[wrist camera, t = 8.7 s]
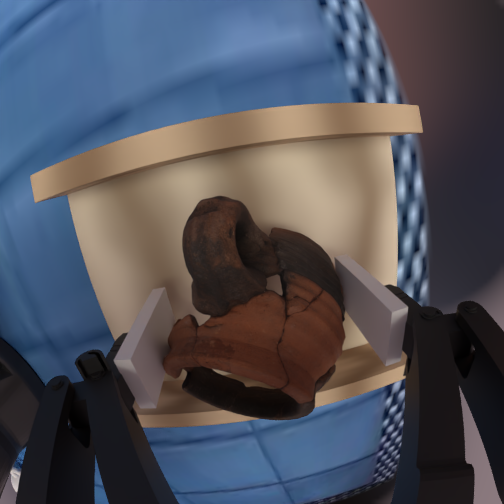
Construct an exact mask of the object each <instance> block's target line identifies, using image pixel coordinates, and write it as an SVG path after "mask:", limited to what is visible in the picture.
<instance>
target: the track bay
mask: <svg viewBox="0 0 504 504" xmlns="http://www.w3.org/2000/svg"><path fill="white" fill-rule="evenodd" d="M414 133H423V130H422V124H421V118H420V112H419V107H418V106H416V105H404V104H386V103H326V104H307V105H294V106H283V107H273V108H265V109H257V110H249V111H242V112H236V113H230V114H224V115H218V116H213V117H208V118H203V119H198V120H193V121H189V122H184V123H180V124H176V125H171V126H167V127H163V128H160V129H156V130H152V131H149V132H145V133H141V134H138V135H135V136H131V137H128V138H125V139H122V140H119V141H116V142H112V143H110V144H107V145H104V146H101V147H98V148H95V149H92V150H90V151H87V152H84V153H82V154H79V155H77V156H74V157H72V158H69V159H67V160H64V161H62V162H60V163H57V164H55V165H53V166H50V167H48V168H46V169H44V170H42V171H39V172H37V173H35V174H33V175H31V176H30V177H31V184H32V189H33V195H34V200H35V203H37V202H40V201H44V200H48V199H52V198H56V197H60V196H64V195H68V200H69V205H70V209H71V214H72V218H73V222H74V226H75V230H76V234H77V237H78V241H79V244H80V248H81V251H82V255H83V258H84V261H85V264H86V267H87V271H88V274H89V277H90V279H91V282H92V285H93V288H94V291H95V294H96V296H97V299H98V302H99V304H100V307H101V309H102V312H103V314H104V317H105V319H106V322H107V324H108V326H109V329H110V331H111V333H112V336H113V338H114V340H115V341H116V339H117V338H118V337H119V336H121V335H122V334H123V333H128V332H129V330H130V329H131V327H132V325H133V323H134V321H135V320H136V318H137V316H138V314H139V312H140V311H141V309H142V307H143V305H144V304H145V302H146V300H147V298H148V297H149V295H150V293H151V292H152V290H153V289H158V288H164V287H165V289H166V292H167V296H168V299H169V302H170V305H171V308H172V312H173V315H174V318H175V321H176V322H177V320H178V319H183V318H184V317H185V316H186V315H188V314H191V315H193V316H195V318H196V320H197V322H198V324H199V326H200V325H202V324H204V323H205V322H206V321H207V320H208V319H209V318H210V315H204V314H202V313H200V312H198V311H197V310H196V309H195V307H194V306H193V304H192V289H191V285H192V281H193V279H192V277H191V275H190V274H189V272H188V269H187V268H186V264H185V260H184V255H183V250H182V237H183V230H184V227H185V225H186V222H187V220H188V218H189V216H190V215H191V213H192V212H193V210H194V209H195V207H196V205H197V204H198V203H199V201H201V200H202V199H207V198H212V197H215V196H226V197H229V198H231V199H234V200H238V201H241V202H242V203H243V204H244V205H245V206H246V207H247V209H248V210H249V213H250V214H251V217H252V219H253V221H254V222H255V224H256V225H257V226H258V228H259V229H260V230H261V231H263V232H264V233H266V234H267V235H268V236H269V234H270V233H271V229H272V228H274V227H276V228H282V229H287V230H291V231H294V232H298V233H301V234H303V235H305V236H307V237H309V238H310V239H311V240H313V241H314V242H316V243H317V244H318V245H320V246H321V247H322V248H323V249H324V251H325V252H326V253H327V254H328V255H329V257H330V258H331V261H332V263H333V265H334V267H335V259H334V257H335V256H340V255H346V254H347V255H348V256H349V257H350V258H352V259H353V260H354V261H355V262H357V263H358V264H359V265H360V266H361V267H363V268H364V269H365V270H366V271H367V272H369V273H370V274H371V275H372V276H373V277H374V278H376V279H377V280H378V281H379V282H380V283H381V284H383V285H384V286H385V285H388V284H391V285H393V286H396V287H397V259H398V233H397V205H396V189H395V177H394V167H393V158H392V150H391V142H390V136H396V135H404V134H414ZM266 279H267V286H266V289H268V290H273V291H275V292H277V293H278V294H279V295H282V294H283V292H282V288H281V281H280V276H279V275H275V276H271V277H269V278H266ZM344 317H345V321H344V322H343V327H344V331H345V336H346V338H345V340H344V344H343V347H342V354H341V356H340V357H339V358H338V359H337V361H336V363H335V365H336V370H335V373H334V374H333V375H332V376H331V378H330V380H329V381H328V382H327V383H326V384H325V385H324V386H323V387H322V388H321V389H320V390H319V391H317V392H316V396H315V407H319V406H322V405H326V404H330V403H334V402H337V401H341V400H344V399H347V398H351V397H354V396H357V395H360V394H363V393H366V392H369V391H372V390H375V389H378V388H381V387H383V386H386V385H389V384H391V383H394V382H397V381H399V380H402V379H404V378H406V376H403V374H404V369H405V364H406V359H407V355H406V354H405V353H404V351H403V350H402V356H401V361H399V362H397V363H394V364H391V365H388V366H385V365H384V364H383V362H382V361H381V359H380V358H379V356H378V355H377V354H376V352H375V351H374V349H373V348H372V347H371V345H370V344H369V342H368V341H367V340H366V338H365V337H364V336H363V334H362V333H361V331H360V330H359V329H358V327H357V326H356V325H355V323H354V322H353V320H352V319H351V318H350V316H349V315H348V314H347V312H346V311H345V315H344ZM213 370H214V371H215V372H217V373H219V374H221V375H223V376H226V377H229V378H233V379H236V380H238V381H241V382H243V383H244V384H245V386H246V387H250V386H260V387H264V388H269V389H276V388H274V387H271V386H269V385H267V384H265V383H262V382H258V381H255V380H252V379H249V378H246V377H243V376H239V375H235V374H231V373H228V372H224V371H220V370H215V369H213ZM186 375H187V372H186V371H185V370H184V369H183V370H182V372H181V375H180V376H179V377H178V378H176V379H174V378H173V377H172V376H170V375H168V374H166V372H165V376H164V380H163V383H162V387H161V391H160V395H159V399H158V403H157V407H156V408H140V407H139V405H138V404H137V402H136V400H135V401H134V404H133V408H134V410H135V411H136V413H137V416H138V418H139V421H140V423H141V426H142V427H188V426H204V425H215V424H225V423H234V422H241V421H248V420H255V419H260V418H254V417H248V416H244V415H240V414H236V413H232V412H229V411H225V410H222V409H219V408H217V407H214V406H212V405H210V404H208V403H205V402H203V401H201V400H199V399H197V398H195V397H193V396H192V395H190V394H189V393H187V392H185V391H184V390H183V389H182V384H183V382H184V380H185V378H186Z"/></svg>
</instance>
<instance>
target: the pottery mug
mask: <svg viewBox="0 0 504 504" xmlns="http://www.w3.org/2000/svg"><path fill="white" fill-rule="evenodd" d="M182 250H183V255H184V260H185V264H186V268H187V269H188V272H189V274H190V275H191V277H192V279H193V281H192V285H191V289H192V304H193V306H194V307H195V309H196V310H197V311H198V312H200V313H202V314H204V315H210V318H209V319H208V320H207V321H206V322H205V323H204V324H202V325H200V326H199V324H198V322H197V320H196V318H195V316H193V315H191V314H188V315H186V316H185V317H184V318H183V319H178V320H177V322H176V323H175V324H174V326H173V328H172V330H171V332H170V334H169V337H168V345H169V347H170V349H171V350H170V352H169V354H168V355H167V356H166V357H165V358H164V361H163V363H162V364H163V368H164V370H165V371H166V374H168V375H170V376H172V377H173V378H174V379H176V378H178V377H179V376H180V375H181V372H182V370H183V369H184V370H185V371H186V372H187V375H186V378H185V380H184V382H183V384H182V389H183V390H184V391H185V392H187V393H189V394H190V395H192V396H193V397H195V398H197V399H199V400H201V401H203V402H205V403H208V404H210V405H212V406H214V407H217V408H219V409H222V410H225V411H229V412H232V413H236V414H240V415H244V416H248V417H254V418H260V419H269V420H291V419H298V418H301V417H304V416H307V415H308V414H310V413H311V412H312V411H313V409H314V408H315V396H316V392H317V391H319V390H320V389H321V388H322V387H323V386H324V385H325V384H326V383H327V382H328V381H329V380H330V378H331V376H332V375H333V374H334V373H335V370H336V365H335V363H336V361H337V359H338V358H339V357H340V356H341V354H342V347H343V344H344V340H345V338H346V336H345V331H344V327H343V322H344V321H345V317H344V315H345V306H344V304H343V302H344V297H343V289H342V286H341V284H340V279H339V277H338V276H337V274H336V272H335V267H334V265H333V263H332V261H331V258H330V257H329V255H328V254H327V253H326V252H325V251H324V249H323V248H322V247H321V246H320V245H318V244H317V243H316V242H314V241H313V240H311V239H310V238H309V237H307V236H305V235H303V234H301V233H298V232H294V231H291V230H287V229H282V228H276V227H274V228H272V229H271V233H270V234H269V236H268V235H267V234H266V233H264V232H263V231H261V230H260V229H259V228H258V226H257V225H256V224H255V222H254V221H253V219H252V217H251V214H250V213H249V210H248V209H247V207H246V206H245V205H244V204H243V203H242V202H241V201H238V200H234V199H231V198H229V197H226V196H215V197H212V198H207V199H202V200H201V201H199V203H198V204H197V205H196V207H195V209H194V210H193V212H192V213H191V215H190V216H189V218H188V220H187V222H186V225H185V227H184V230H183V237H182ZM275 275H279V276H280V281H281V288H282V292H283V294H282V295H279V294H278V293H277V292H275V291H273V290H268V289H266V286H267V279H266V278H269V277H271V276H275ZM213 369H215V370H220V371H224V372H228V373H231V374H235V375H239V376H243V377H246V378H249V379H252V380H255V381H258V382H262V383H265V384H267V385H269V386H271V387H274V388H276V389H269V388H264V387H260V386H250V387H246V386H245V384H244V383H243V382H241V381H238V380H236V379H233V378H229V377H226V376H223V375H221V374H219V373H217V372H215V371H214V370H213Z"/></svg>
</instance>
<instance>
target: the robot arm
mask: <svg viewBox="0 0 504 504" xmlns="http://www.w3.org/2000/svg"><path fill="white" fill-rule="evenodd" d="M334 259H335V272H336V274H337V276H338V277H339V279H340V284H341V286H342V289H343V297H344V302H343V304H344V306H345V311H346V312H347V314H348V315H349V316H350V318H351V319H352V320H353V322H354V323H355V325H356V326H357V327H358V329H359V330H360V331H361V333H362V334H363V336H364V337H365V338H366V340H367V341H368V342H369V344H370V345H371V347H372V348H373V349H374V351H375V352H376V354H377V355H378V356H379V358H380V359H381V361H382V362H383V364H384V365H385V366H388V365H391V364H394V363H397V362H399V361H401V356H402V350H403V351H404V353H405V354H406V355H407V359H406V364H405V369H404V374H403V376H406V386H405V410H404V424H403V435H402V444H401V452H400V460H399V466H398V473H397V478H396V484H395V489H394V494H393V498H392V502H391V504H473V499H474V468H473V466H472V464H467V463H466V461H465V440H464V425H463V414H462V406H461V397H460V391H459V386H460V388H461V390H462V392H463V394H464V397H465V399H466V401H467V404H468V406H469V408H470V411H471V413H472V416H473V418H474V421H475V423H476V426H477V428H478V431H479V434H480V436H481V439H482V442H483V445H484V448H485V450H486V454H487V457H488V460H489V463H490V466H491V469H492V473H493V477H494V480H495V484H496V487H497V491H498V494H499V497H500V499H501V501H502V503H503V504H504V331H503V330H502V329H501V328H500V327H499V325H498V324H497V323H496V322H495V321H494V319H493V318H492V317H491V316H490V315H489V314H488V313H487V311H486V310H485V309H484V308H483V307H482V306H481V305H480V304H478V303H476V302H474V301H465V302H461V303H460V304H459V305H458V307H457V312H456V313H452V314H445V315H443V313H442V312H441V311H440V310H439V309H437V308H434V307H429V306H426V307H421V306H420V305H419V304H418V303H417V302H415V301H414V300H413V299H412V298H411V297H409V296H408V295H407V294H406V293H404V292H403V291H402V290H401V289H400V288H398V287H396V286H393V285H391V284H388V285H385V286H384V285H383V284H381V283H380V282H379V281H378V280H377V279H376V278H374V277H373V276H372V275H371V274H370V273H369V272H367V271H366V270H365V269H364V268H363V267H361V266H360V265H359V264H358V263H357V262H355V261H354V260H353V259H352V258H350V257H349V256H348V255H347V254H346V255H340V256H335V257H334ZM175 323H176V321H175V318H174V315H173V312H172V308H171V305H170V302H169V299H168V296H167V292H166V289H165V287H164V288H158V289H153V290H152V292H151V293H150V295H149V297H148V298H147V300H146V302H145V304H144V305H143V307H142V309H141V311H140V312H139V314H138V316H137V318H136V320H135V321H134V323H133V325H132V327H131V329H130V330H129V332H128V333H123V334H122V335H121V336H119V337H118V338H117V339H116V341H115V343H114V344H113V347H112V348H111V350H110V352H109V353H108V355H107V357H106V359H105V357H104V355H103V353H102V351H100V350H90V351H87V352H85V353H83V354H81V355H80V356H79V357H78V358H77V359H76V362H75V365H76V367H77V369H78V370H79V372H80V374H81V375H82V377H83V379H84V381H81V382H77V383H71V382H70V380H69V378H68V377H67V376H57V377H54V378H52V379H51V380H50V381H49V382H48V383H47V385H46V387H44V385H43V384H42V382H41V381H40V379H39V378H38V377H37V375H36V374H35V373H34V371H33V370H32V369H31V368H30V367H29V365H28V364H27V363H26V362H25V361H24V360H23V359H22V358H21V357H20V355H19V354H18V353H17V352H16V351H15V350H13V349H12V348H11V347H10V346H9V345H8V344H7V343H6V342H4V341H3V340H2V339H1V338H0V497H1V495H2V492H3V489H4V487H5V484H6V482H7V479H8V477H9V474H10V472H11V470H12V468H13V465H14V463H15V461H16V459H17V457H18V455H19V453H20V452H21V451H22V450H23V449H24V448H25V447H27V448H26V452H25V456H24V460H23V464H22V469H21V474H20V479H19V485H18V491H17V498H16V504H95V500H94V475H95V454H96V459H97V463H98V467H99V471H100V475H101V479H102V482H103V486H104V489H105V492H106V496H107V499H108V502H109V504H179V503H178V501H177V499H176V498H175V496H174V494H173V492H172V490H171V488H170V487H169V485H168V483H167V481H166V479H165V477H164V475H163V473H162V471H161V469H160V467H159V465H158V463H157V461H156V458H155V456H154V454H153V452H152V450H151V447H150V445H149V443H148V440H147V438H146V436H145V433H144V431H143V428H142V426H141V423H140V421H139V418H138V416H137V413H136V411H135V410H134V408H133V404H134V401H135V400H136V402H137V404H138V405H139V407H140V408H156V407H157V403H158V399H159V395H160V391H161V387H162V383H163V380H164V376H165V372H166V371H165V370H164V368H163V364H162V363H163V361H164V358H165V357H166V356H167V355H168V354H169V352H170V350H171V349H170V347H169V345H168V337H169V334H170V332H171V330H172V328H173V326H174V324H175ZM474 349H475V351H474ZM68 423H69V426H68Z"/></svg>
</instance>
